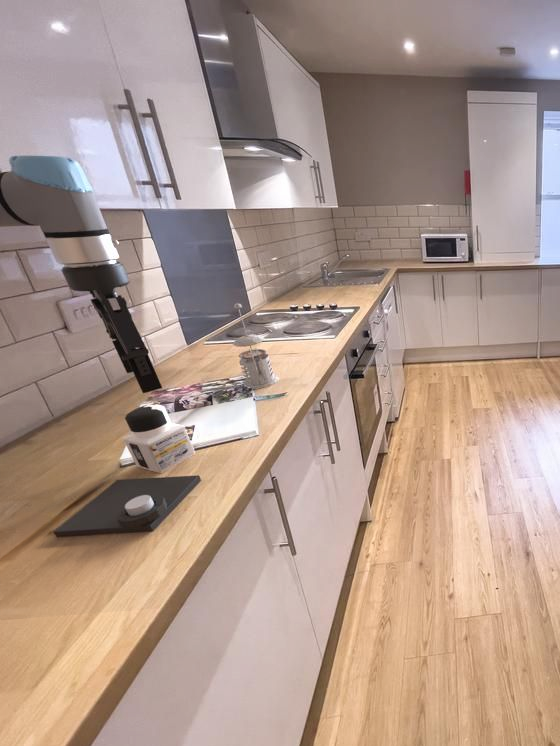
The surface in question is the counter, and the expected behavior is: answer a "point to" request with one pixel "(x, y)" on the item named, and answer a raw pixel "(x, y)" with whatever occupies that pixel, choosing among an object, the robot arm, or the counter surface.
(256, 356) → the french press
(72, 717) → the counter surface
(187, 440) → the container
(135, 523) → the scale
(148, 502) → the button
